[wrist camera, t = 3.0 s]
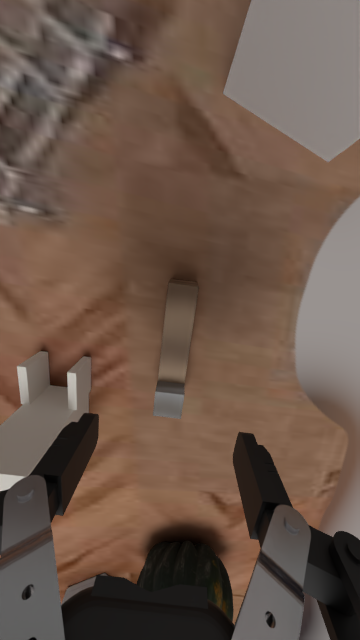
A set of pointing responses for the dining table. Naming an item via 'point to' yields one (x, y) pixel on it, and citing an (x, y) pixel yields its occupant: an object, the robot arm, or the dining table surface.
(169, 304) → the rail
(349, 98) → the milk
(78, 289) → the dining table surface
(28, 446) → the white forked bracket
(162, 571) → the squash
